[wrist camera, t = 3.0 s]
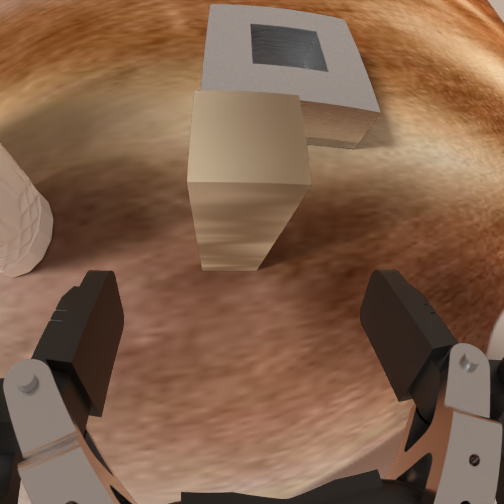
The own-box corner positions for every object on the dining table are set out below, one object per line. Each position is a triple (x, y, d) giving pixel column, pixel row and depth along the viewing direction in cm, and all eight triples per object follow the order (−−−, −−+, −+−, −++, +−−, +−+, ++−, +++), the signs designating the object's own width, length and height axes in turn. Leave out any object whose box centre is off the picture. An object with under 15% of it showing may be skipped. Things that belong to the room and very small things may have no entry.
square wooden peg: (202, 270, 20) (186, 182, 8) (203, 219, 20) (194, 90, 9) (256, 270, 20) (312, 185, 9) (254, 219, 21) (299, 95, 9)
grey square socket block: (201, 140, 22) (200, 95, 17) (209, 44, 25) (210, 4, 20) (354, 149, 23) (380, 112, 19) (329, 55, 26) (344, 19, 22)
